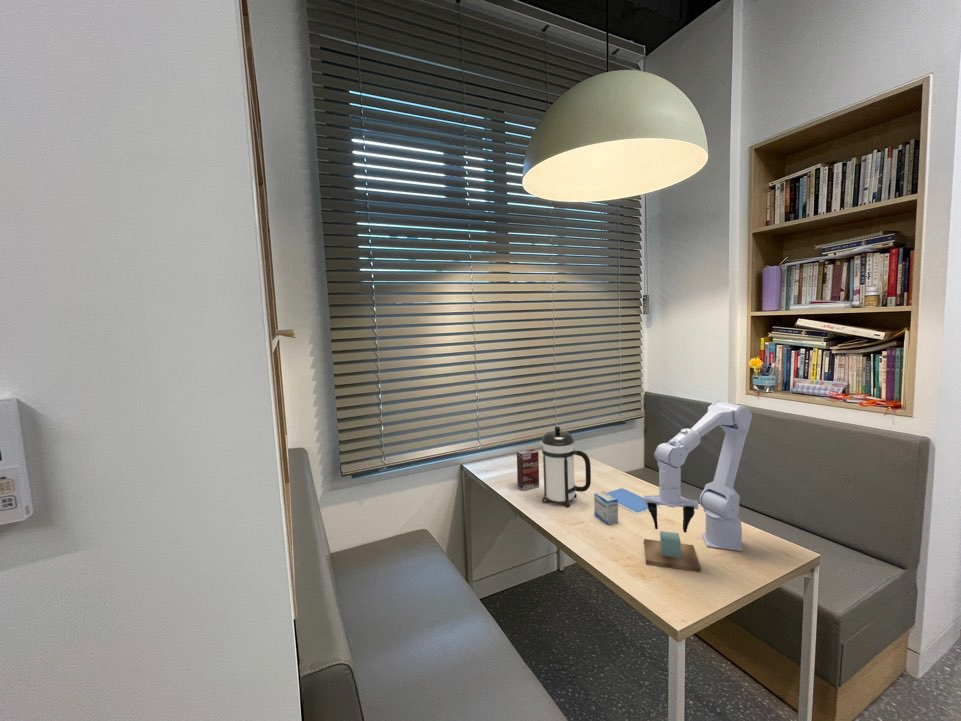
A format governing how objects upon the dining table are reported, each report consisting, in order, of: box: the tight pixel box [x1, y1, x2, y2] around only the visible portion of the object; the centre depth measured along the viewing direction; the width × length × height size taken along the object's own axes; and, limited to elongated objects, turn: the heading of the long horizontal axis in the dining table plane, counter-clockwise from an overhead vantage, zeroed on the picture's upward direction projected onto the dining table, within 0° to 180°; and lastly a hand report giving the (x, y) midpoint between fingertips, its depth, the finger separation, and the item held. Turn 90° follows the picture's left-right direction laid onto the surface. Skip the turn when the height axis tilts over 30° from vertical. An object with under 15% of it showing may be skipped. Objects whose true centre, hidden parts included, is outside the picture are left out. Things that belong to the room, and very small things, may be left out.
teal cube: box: [659, 530, 682, 558], centre depth 119 cm, size 5×5×5 cm
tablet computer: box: [606, 487, 661, 515], centre depth 157 cm, size 19×13×1 cm, turn 27°
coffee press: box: [538, 426, 592, 508], centre depth 159 cm, size 17×16×30 cm
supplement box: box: [516, 449, 540, 492], centre depth 174 cm, size 9×5×16 cm, turn 114°
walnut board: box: [643, 538, 701, 573], centre depth 119 cm, size 14×12×1 cm
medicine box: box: [593, 490, 619, 525], centre depth 143 cm, size 8×4×9 cm, turn 21°
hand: (670, 529), depth 119 cm, fingers open, 7 cm apart
